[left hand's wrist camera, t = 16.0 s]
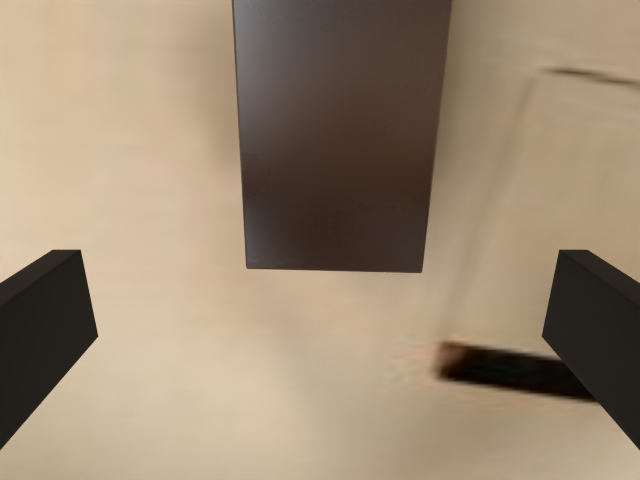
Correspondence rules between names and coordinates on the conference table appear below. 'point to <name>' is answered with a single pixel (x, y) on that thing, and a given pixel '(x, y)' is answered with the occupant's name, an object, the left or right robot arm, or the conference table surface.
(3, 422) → the left robot arm
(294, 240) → the beam
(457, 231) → the conference table surface
